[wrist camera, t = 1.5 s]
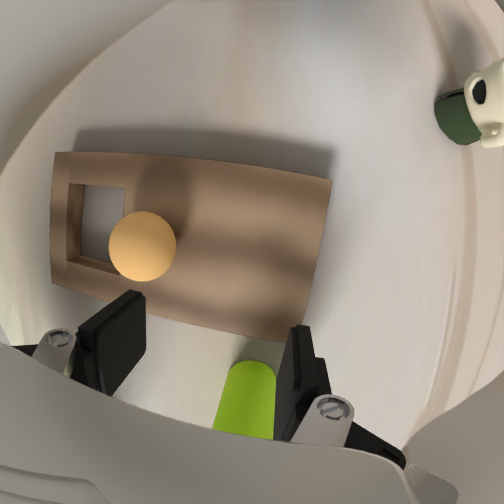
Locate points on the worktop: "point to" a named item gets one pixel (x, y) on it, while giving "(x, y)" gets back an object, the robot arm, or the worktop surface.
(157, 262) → the ball
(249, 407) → the soap dispenser
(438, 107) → the character mug
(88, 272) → the board
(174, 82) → the worktop surface
